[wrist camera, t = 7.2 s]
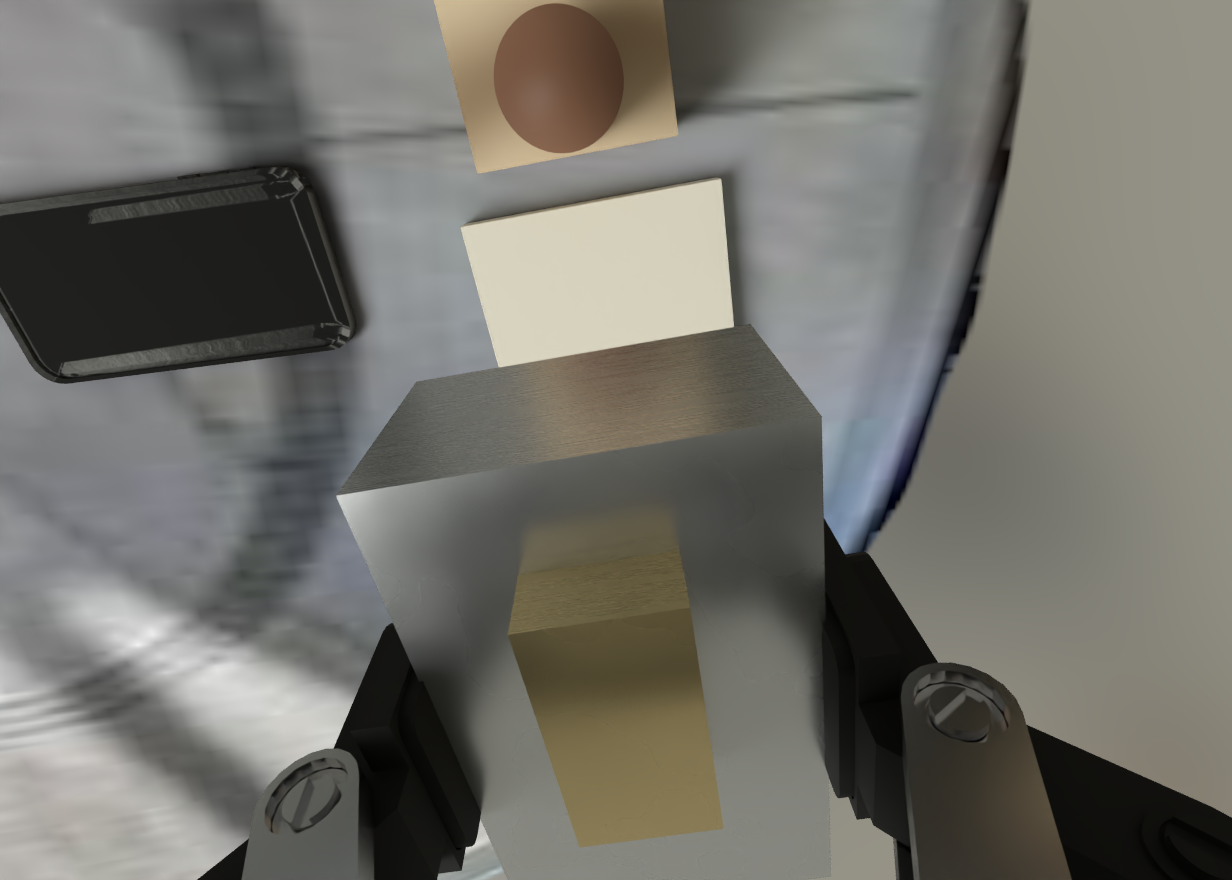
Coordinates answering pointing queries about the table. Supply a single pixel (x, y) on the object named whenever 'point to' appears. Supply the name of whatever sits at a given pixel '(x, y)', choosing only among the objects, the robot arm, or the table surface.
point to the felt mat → (603, 272)
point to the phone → (171, 276)
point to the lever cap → (617, 604)
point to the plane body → (558, 76)
